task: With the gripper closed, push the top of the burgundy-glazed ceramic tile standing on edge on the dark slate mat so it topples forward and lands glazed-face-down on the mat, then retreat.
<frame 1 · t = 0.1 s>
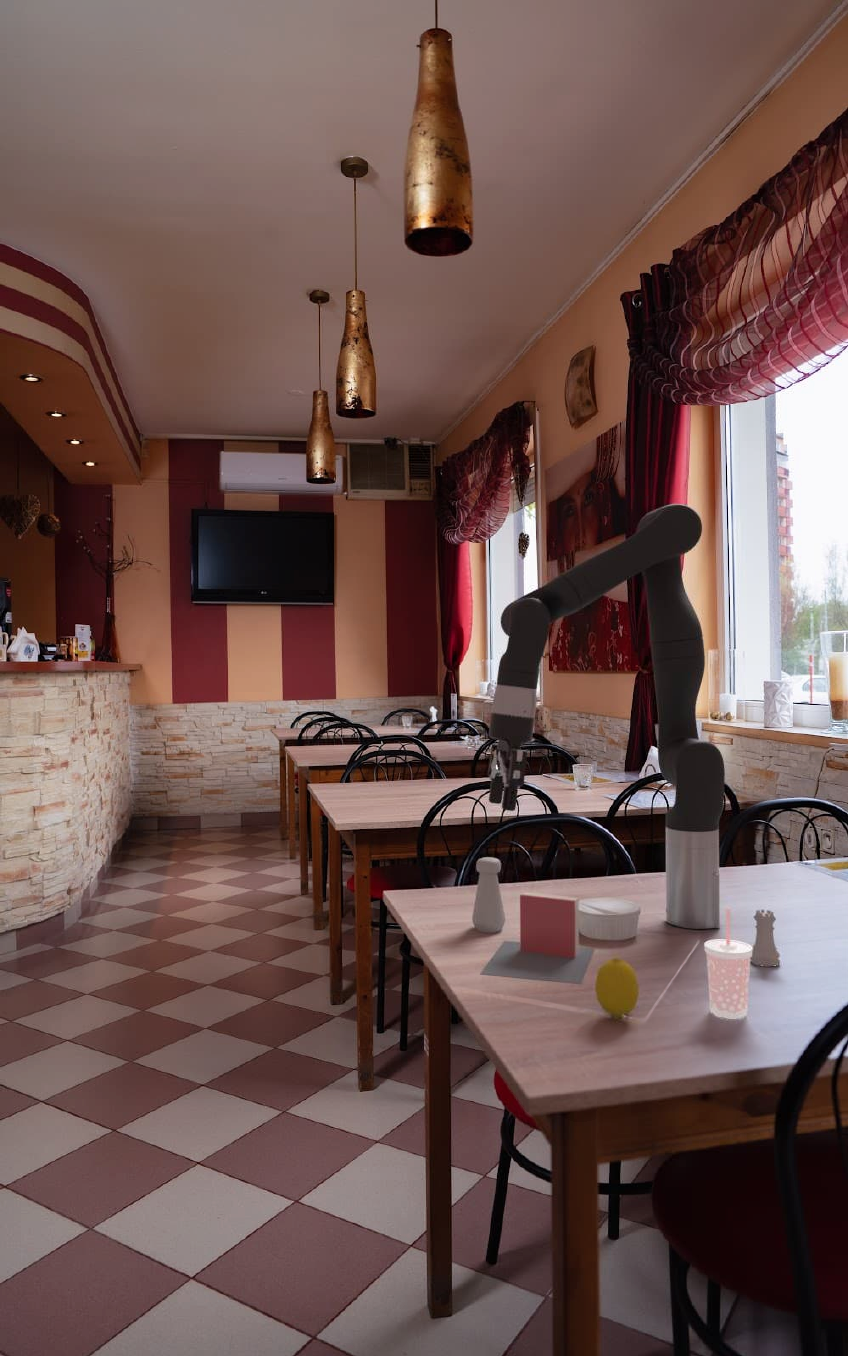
hand: (501, 806, 154), 22 cm above the table, tool pointing down, fingers open, 8 cm apart
rook chess piece: (765, 964, 139), on the table
tile: (549, 952, 143), point 1 cm above the table, touching slate mat
beverage cup: (728, 1014, 118), on the table
salt shaker: (489, 933, 156), on the table
lemon: (617, 1019, 117), on the table
slate mat: (539, 964, 139), on the table
ramekin: (607, 937, 154), on the table
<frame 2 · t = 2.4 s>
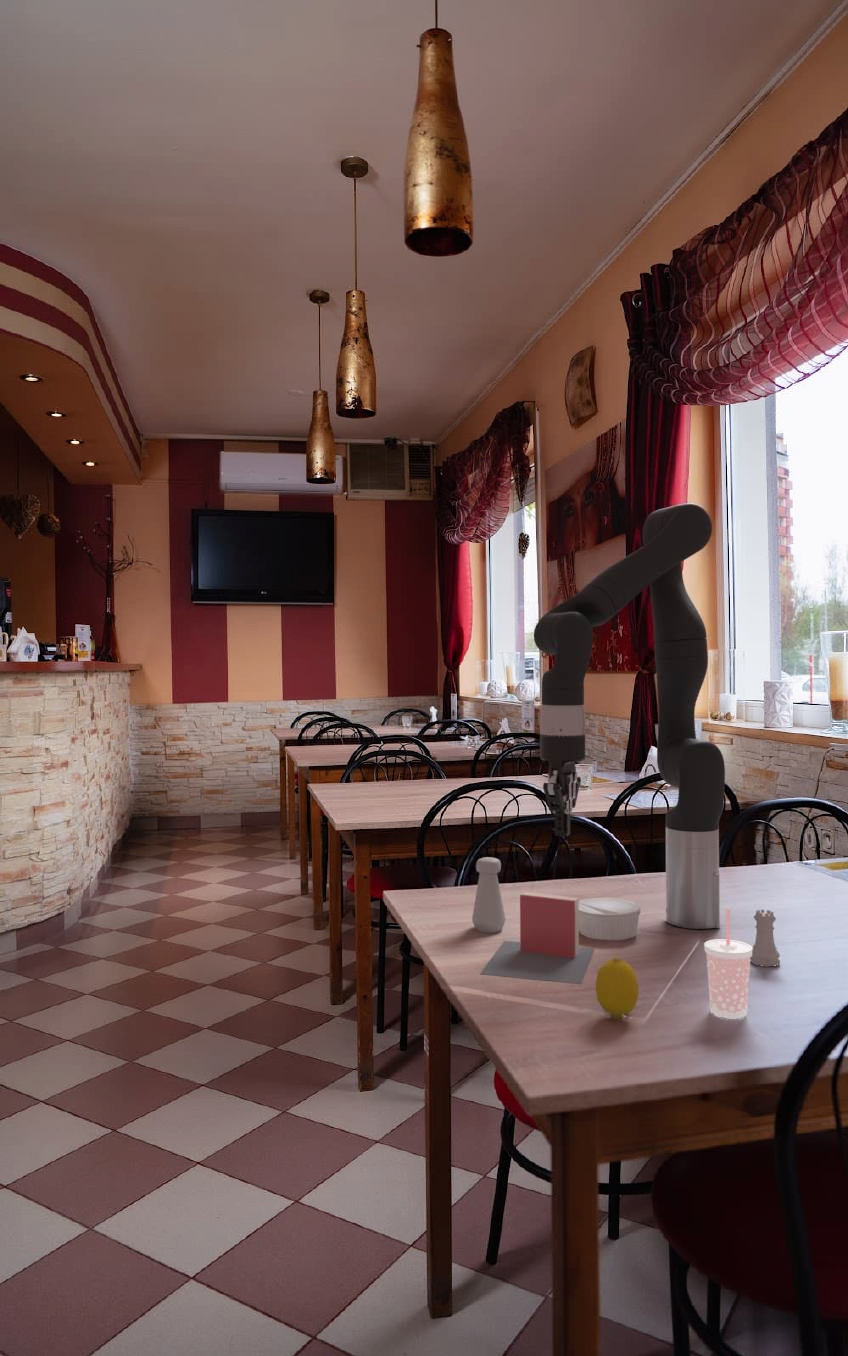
hand: (562, 835, 149), 18 cm above the table, tool pointing down, fingers closed
nothing on the table moved.
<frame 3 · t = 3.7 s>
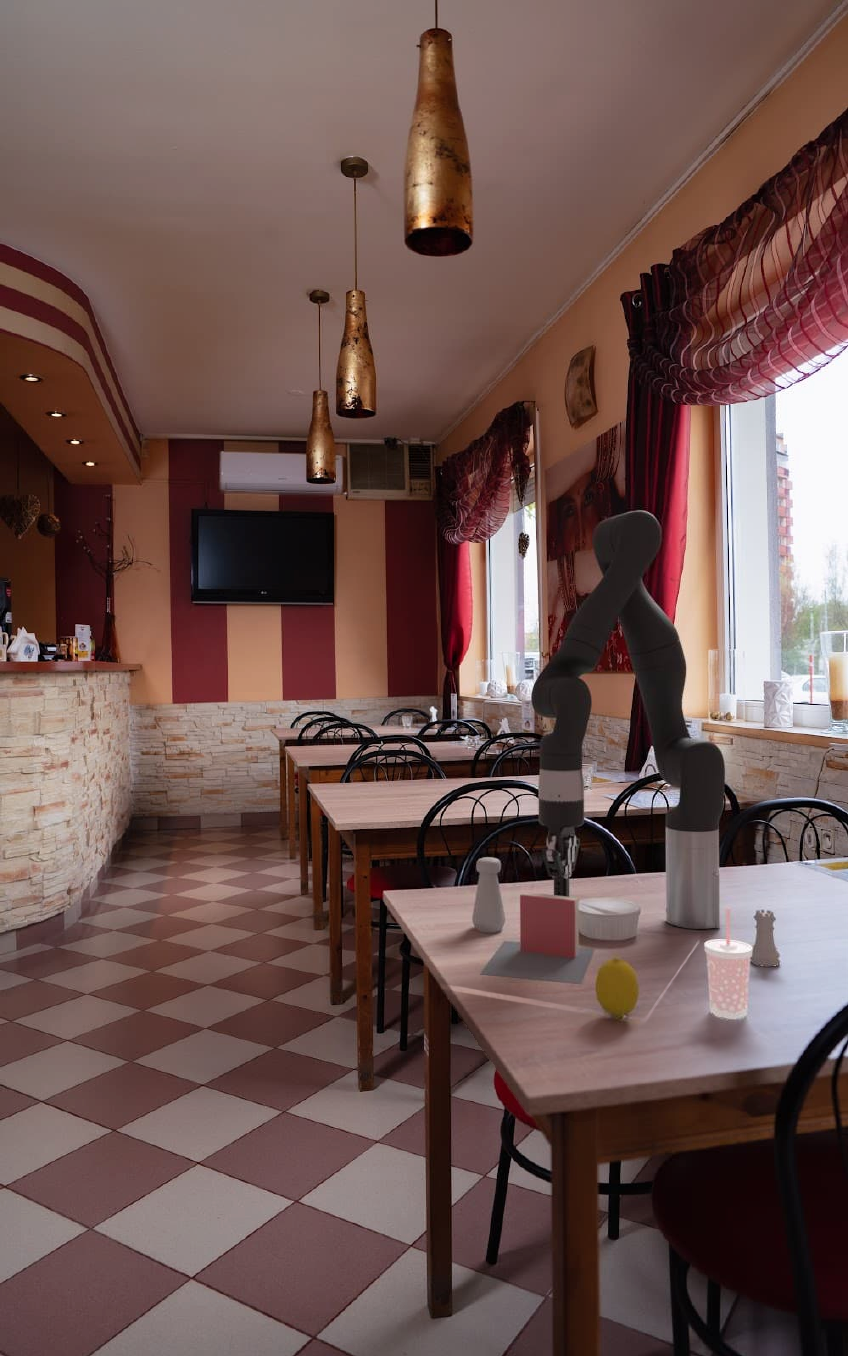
hand: (561, 899, 148), 8 cm above the table, tool pointing down, fingers closed
nothing on the table moved.
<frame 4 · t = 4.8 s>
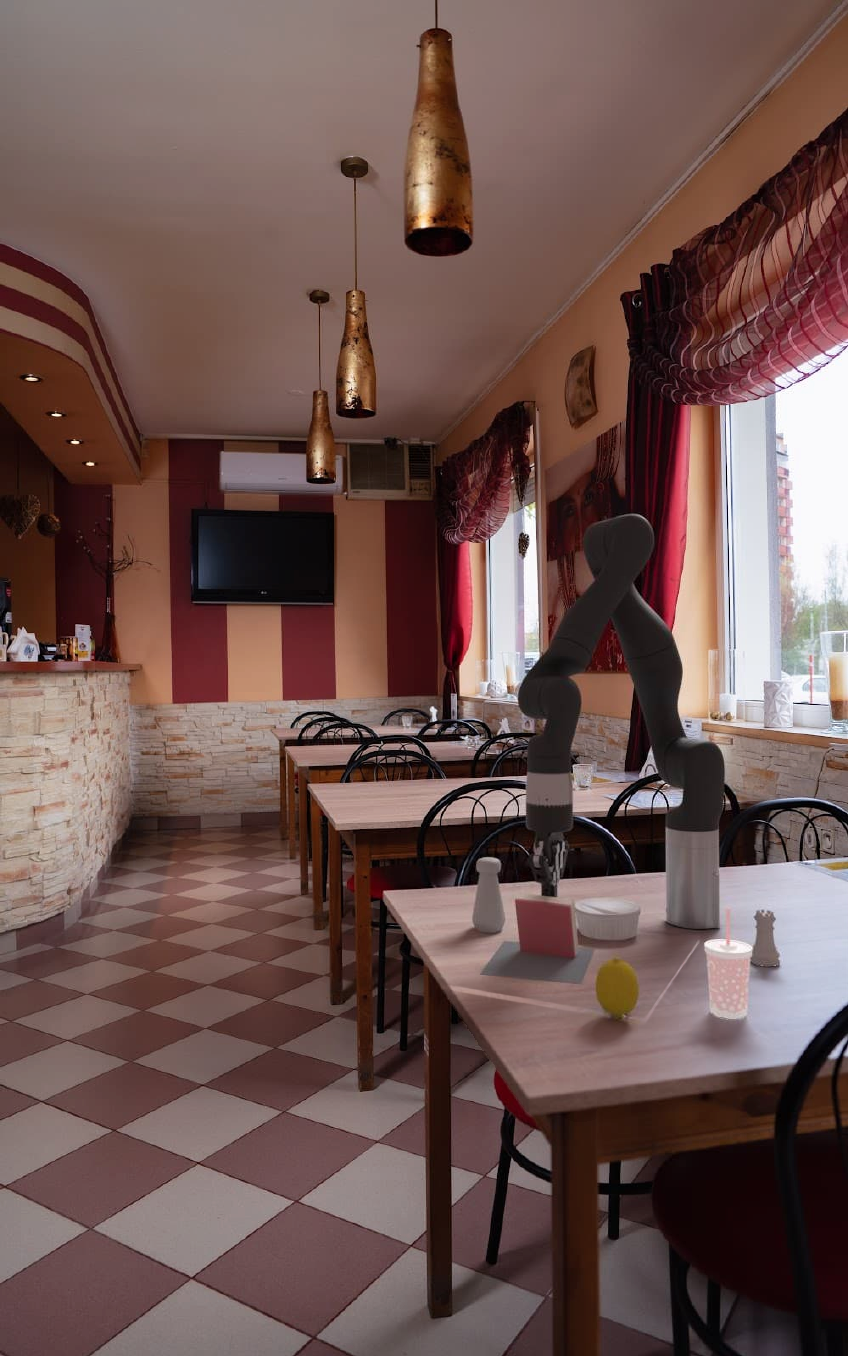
hand: (549, 907, 143), 8 cm above the table, tool pointing down, fingers closed
tile: (549, 950, 142), point 1 cm above the table, tilted 15°, touching slate mat
everything else where it was.
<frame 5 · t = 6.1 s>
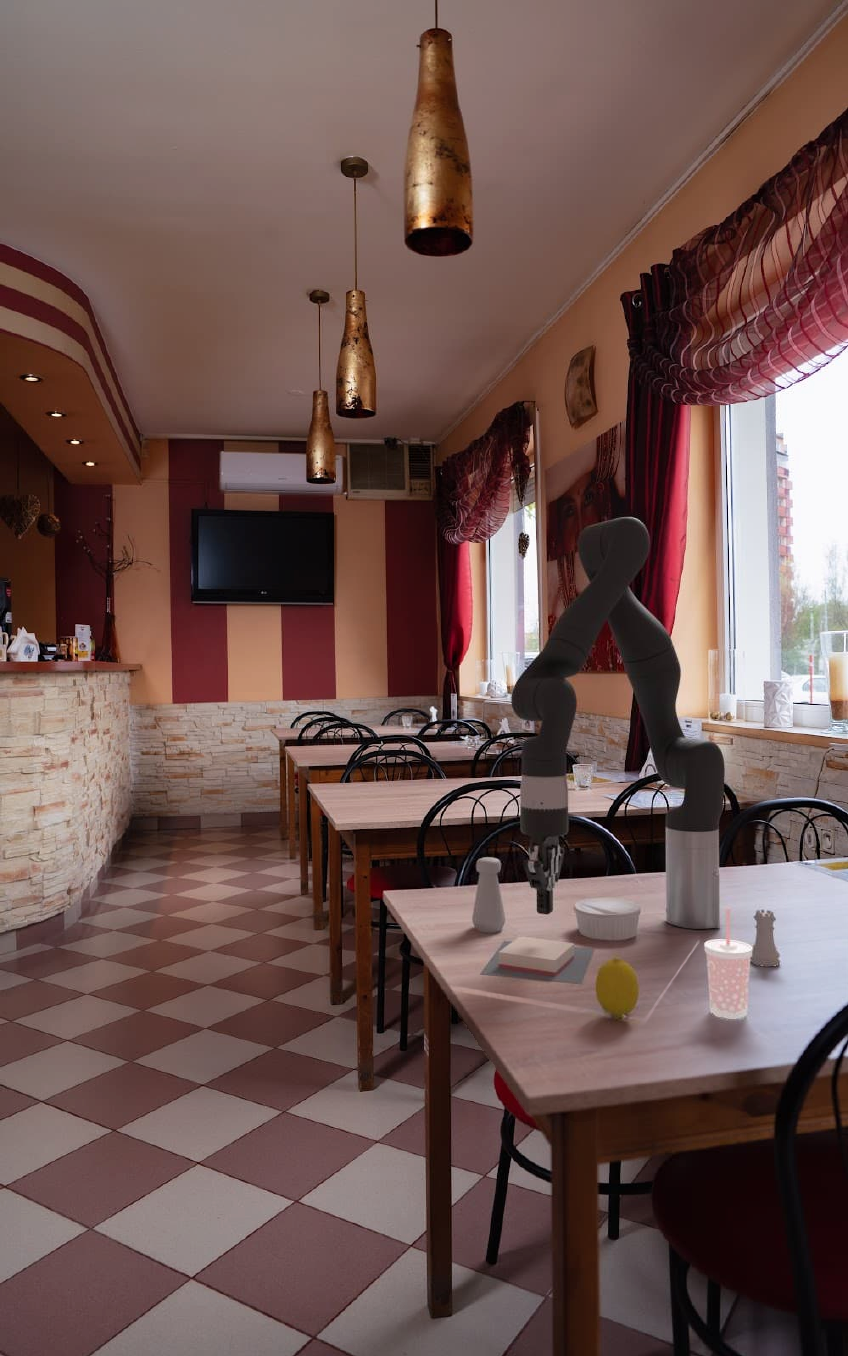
hand: (544, 912, 141), 8 cm above the table, tool pointing down, fingers closed
tile: (546, 947, 141), point 2 cm above the table, tilted 90°, touching slate mat
everything else where it was.
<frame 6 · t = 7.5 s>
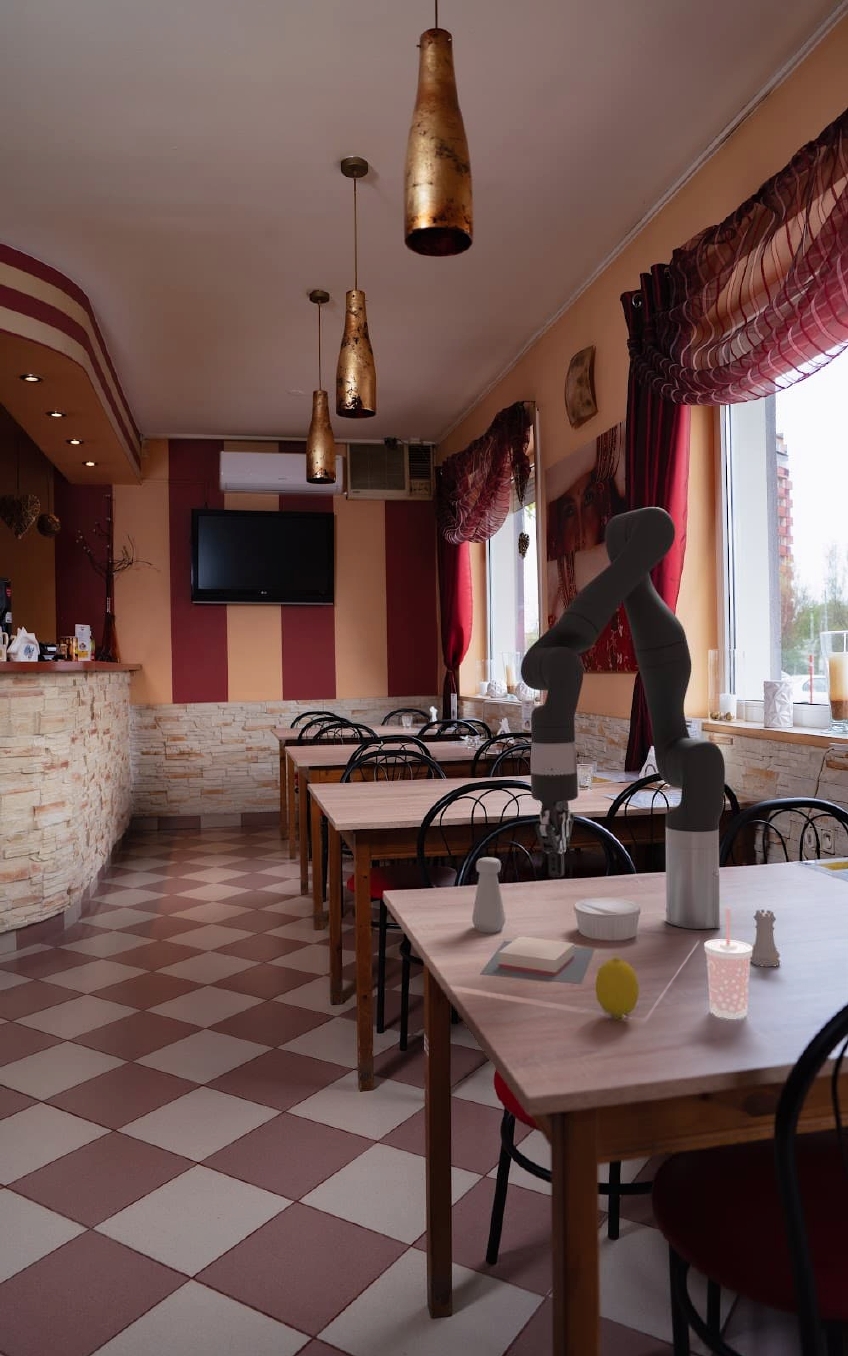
hand: (556, 875, 145), 12 cm above the table, tool pointing down, fingers closed
nothing on the table moved.
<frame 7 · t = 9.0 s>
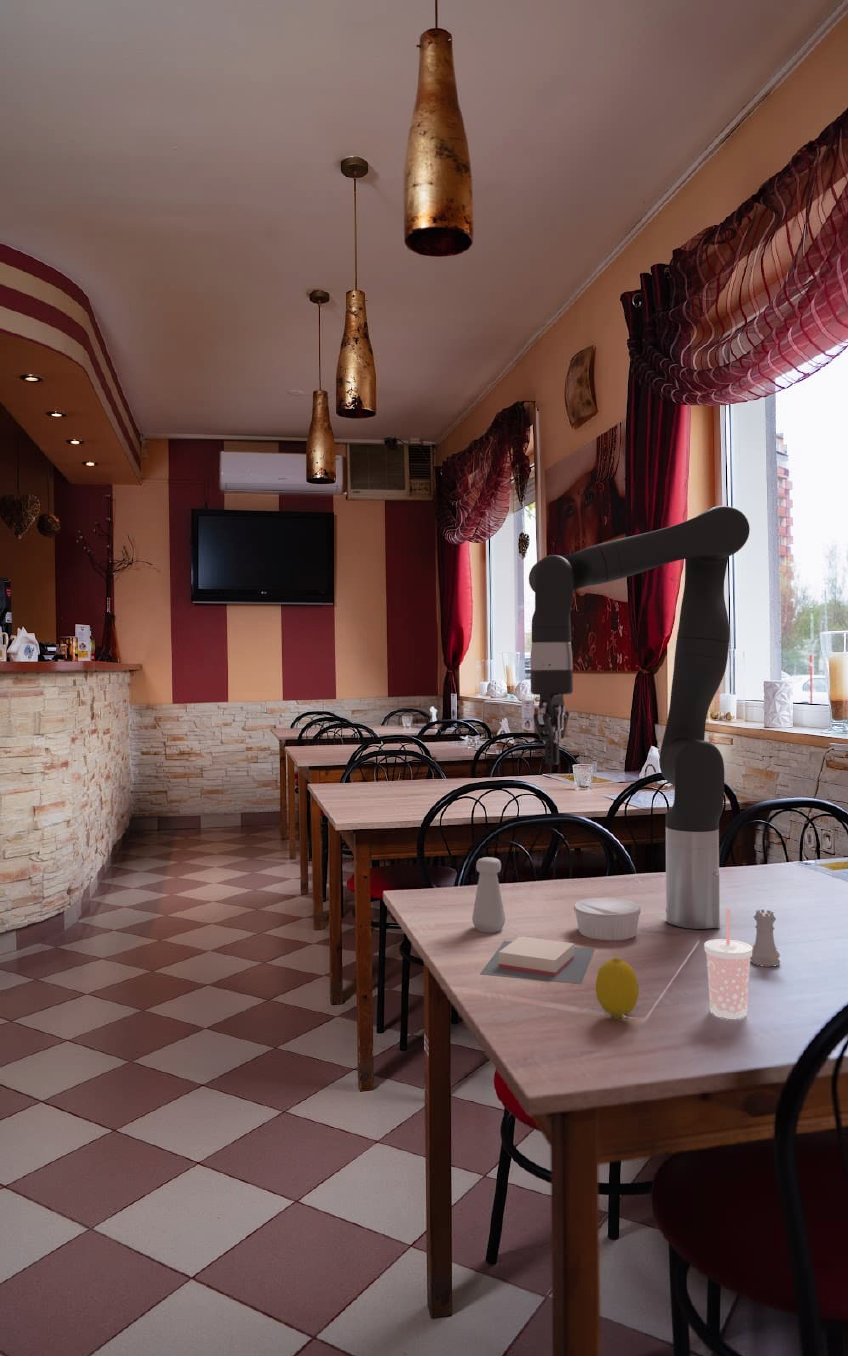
hand: (552, 764, 160), 29 cm above the table, tool pointing down, fingers closed
nothing on the table moved.
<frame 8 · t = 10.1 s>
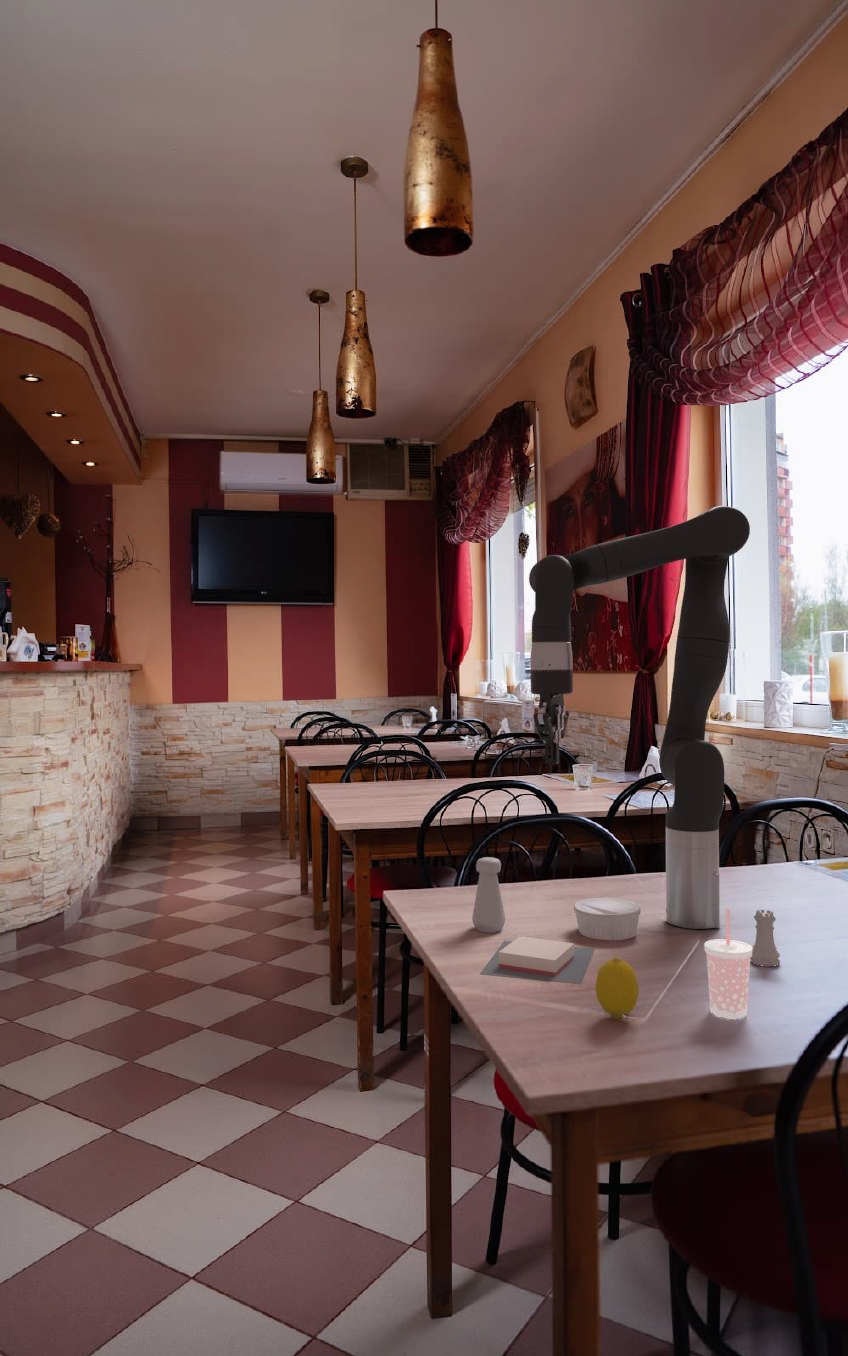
hand: (552, 763, 160), 29 cm above the table, tool pointing down, fingers closed
nothing on the table moved.
at the end: tile tilted 90°; tile inside the target area (3.2 cm from its centre), point 1.8 cm above the table; the gripper is holding nothing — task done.
